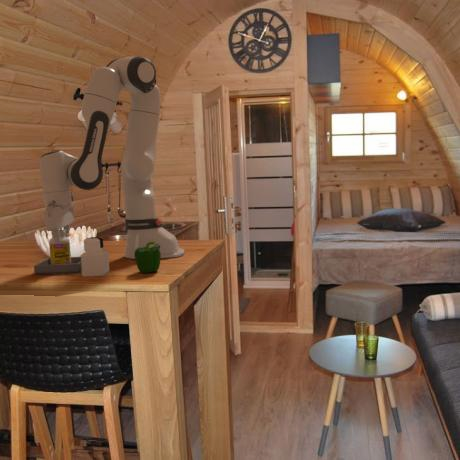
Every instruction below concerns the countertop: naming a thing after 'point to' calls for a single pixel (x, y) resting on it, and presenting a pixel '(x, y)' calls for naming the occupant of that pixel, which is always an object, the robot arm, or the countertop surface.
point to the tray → (58, 267)
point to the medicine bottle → (94, 258)
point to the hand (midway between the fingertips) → (62, 240)
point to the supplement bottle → (60, 249)
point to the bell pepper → (148, 258)
